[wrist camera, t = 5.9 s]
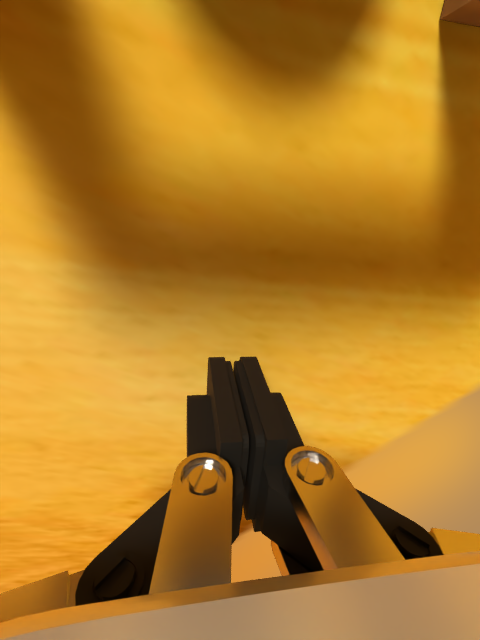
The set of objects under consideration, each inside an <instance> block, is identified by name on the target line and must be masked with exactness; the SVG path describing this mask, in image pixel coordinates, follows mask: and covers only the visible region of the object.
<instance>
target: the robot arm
mask: <svg viewBox="0 0 480 640" xmlns="http://www.w3.org/2000/svg"><path fill="white" fill-rule="evenodd" d="M242 508H244V514H245V518H246V520H250V519H252V523H253V528H254V532H258V531H261V532H262V534H264V535H265V536H267V537H268V538H269V539H270V540H271V546H272V551H273V554H274V556H275V559H276V562H277V564H278V567H279V569H280V572H281V575H282V576H280V577H272V578H265V579H258V580H250V581H243V582H236V583H231V545H232V544H233V542H234V541H235V540H236V538H237V537H238V536H239V528H240V520H241V516H242ZM0 640H480V534H474V533H467V532H459V531H452V530H443V529H437V528H432V529H431V531H430V532H427V531H426V530H425V529H424V528H422V527H421V526H420V525H418V524H417V523H415V522H414V521H412V520H410V519H408V518H406V517H405V516H403V515H401V514H399V513H398V512H396V511H394V510H392V509H391V508H388V507H387V506H385V505H383V504H382V503H380V502H378V501H376V500H375V499H373V498H371V497H369V496H367V495H366V494H364V493H362V492H361V491H359V490H357V489H355V488H354V487H353V485H352V484H351V482H350V481H349V480H348V478H347V477H346V475H345V474H344V472H343V471H342V470H341V468H340V467H339V465H338V464H337V463H336V461H335V460H334V459H333V458H332V457H331V456H330V455H329V454H327V453H326V452H324V451H322V450H320V449H318V448H315V447H309V446H304V444H303V442H302V440H301V437H300V435H299V433H298V430H297V428H296V426H295V424H294V421H293V419H292V417H291V415H290V412H289V410H288V408H287V405H286V403H285V401H284V399H283V396H282V395H281V393H270V391H269V388H268V386H267V383H266V380H265V378H264V375H263V373H262V370H261V368H260V365H259V362H258V360H257V358H256V357H240V360H239V361H235V362H234V370H233V369H232V365H231V362H230V361H225V358H224V357H209V358H208V378H207V395H192V396H187V458H185V459H184V460H183V461H182V462H181V463H180V464H179V465H178V466H177V469H176V471H175V473H174V478H173V483H172V487H171V490H169V491H168V492H167V493H166V494H165V495H164V496H163V497H162V498H161V499H160V500H158V501H157V502H156V503H155V504H154V505H153V506H152V507H151V508H150V509H148V510H147V511H146V512H145V513H144V514H143V515H142V516H141V517H140V518H139V519H137V520H136V521H135V522H134V523H133V524H132V525H131V526H130V527H129V528H128V529H126V530H125V531H124V532H123V533H122V534H121V535H120V536H119V537H118V538H116V539H115V540H114V541H113V542H112V543H111V544H110V545H109V546H108V547H107V548H105V549H104V550H103V551H102V552H101V553H100V554H99V555H98V556H97V557H96V558H94V560H93V561H92V562H91V563H90V564H89V565H88V566H87V567H86V569H85V570H83V571H80V572H77V573H74V574H71V575H69V573H68V571H65V572H62V573H59V574H56V575H53V576H51V577H48V578H45V579H42V580H39V581H36V582H33V583H30V584H27V585H24V586H22V587H19V588H16V589H13V590H10V591H7V592H4V593H1V594H0Z"/></svg>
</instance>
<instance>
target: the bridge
mask: <svg viewBox="0 0 480 640" xmlns="http://www.w3.org/2000/svg"><path fill="white" fill-rule="evenodd" d="M440 20H445V21H451V22H456V23H462V24H467V25H472V26H478V27H480V0H445V1H444V5H443V9H442V13H441V17H440Z"/></svg>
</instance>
